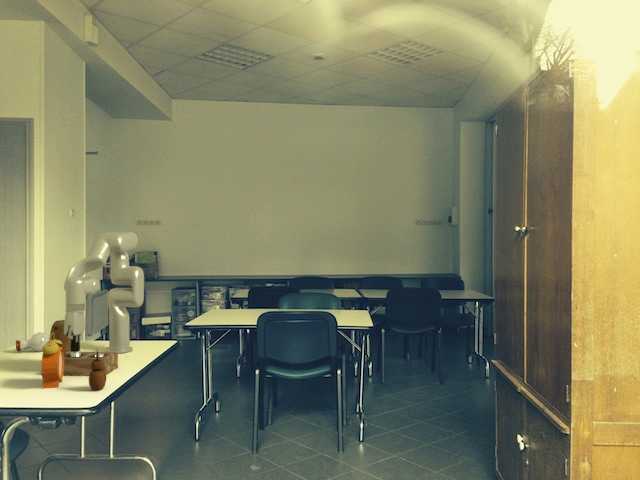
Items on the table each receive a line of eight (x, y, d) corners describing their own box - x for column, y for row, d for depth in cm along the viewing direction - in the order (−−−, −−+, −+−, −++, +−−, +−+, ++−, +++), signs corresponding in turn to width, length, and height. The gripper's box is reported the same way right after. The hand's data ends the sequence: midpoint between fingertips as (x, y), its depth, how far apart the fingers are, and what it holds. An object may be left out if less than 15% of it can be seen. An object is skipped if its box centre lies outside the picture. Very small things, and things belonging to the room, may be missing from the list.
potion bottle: (51, 353, 272) (18, 359, 268) (53, 339, 280) (20, 344, 275) (47, 341, 267) (13, 346, 263) (49, 327, 274) (16, 332, 270)
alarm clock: (58, 388, 207) (58, 336, 207) (40, 389, 205) (40, 337, 205) (64, 379, 220) (64, 330, 219) (47, 380, 218) (47, 330, 218)
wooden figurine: (92, 386, 209) (92, 348, 209) (108, 386, 210) (108, 347, 210) (86, 392, 203) (86, 351, 202) (102, 391, 203) (102, 351, 203)
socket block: (68, 367, 240) (68, 351, 240) (117, 367, 239) (117, 351, 239) (52, 375, 226) (52, 358, 226) (105, 375, 225) (104, 358, 225)
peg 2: (96, 369, 233) (96, 353, 233) (105, 369, 233) (105, 353, 233) (92, 371, 229) (92, 355, 229) (101, 371, 229) (101, 355, 229)
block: (76, 362, 248) (76, 319, 248) (74, 366, 241) (74, 321, 241) (50, 364, 245) (50, 320, 244) (47, 368, 237) (47, 322, 237)
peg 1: (73, 366, 234) (73, 350, 233) (82, 366, 233) (82, 350, 233) (68, 368, 230) (68, 352, 229) (78, 368, 229) (78, 352, 229)
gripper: (74, 305, 239) (74, 347, 239) (57, 310, 224) (57, 355, 224) (91, 305, 239) (91, 347, 239) (76, 310, 224) (75, 355, 224)
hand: (75, 351), depth 231 cm, fingers closed
